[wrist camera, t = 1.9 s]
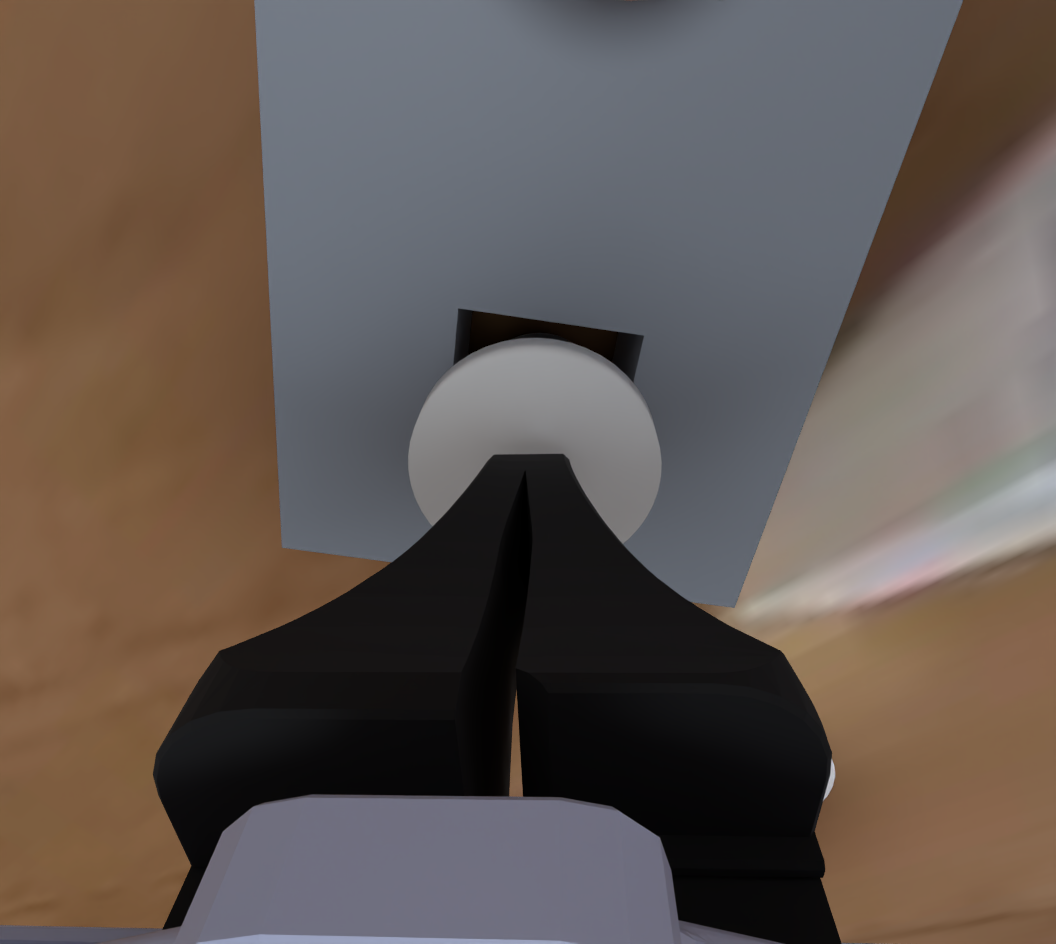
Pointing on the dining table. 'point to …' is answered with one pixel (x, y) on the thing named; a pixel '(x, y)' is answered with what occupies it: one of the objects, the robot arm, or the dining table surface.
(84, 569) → the dining table surface
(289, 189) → the panel
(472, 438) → the grey plunger
